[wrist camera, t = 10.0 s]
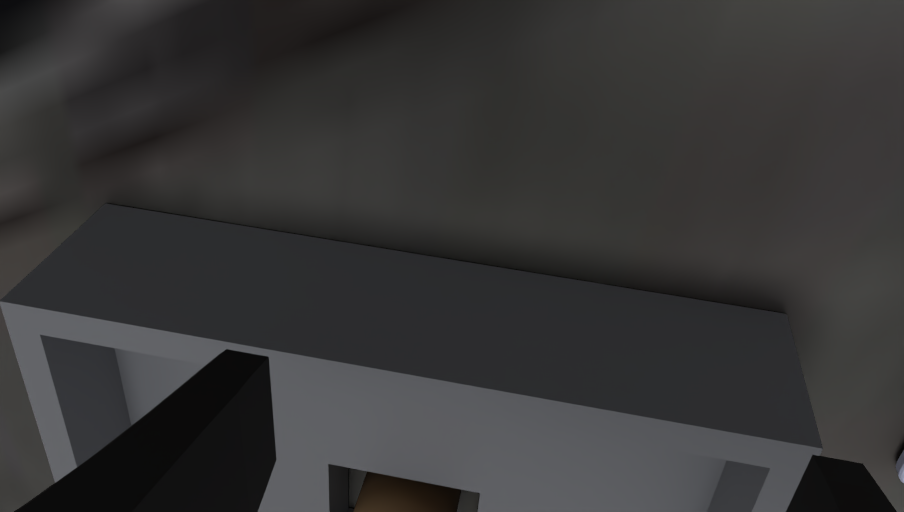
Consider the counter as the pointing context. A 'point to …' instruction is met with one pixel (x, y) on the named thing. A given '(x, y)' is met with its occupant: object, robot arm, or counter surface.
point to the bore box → (417, 369)
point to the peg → (404, 495)
